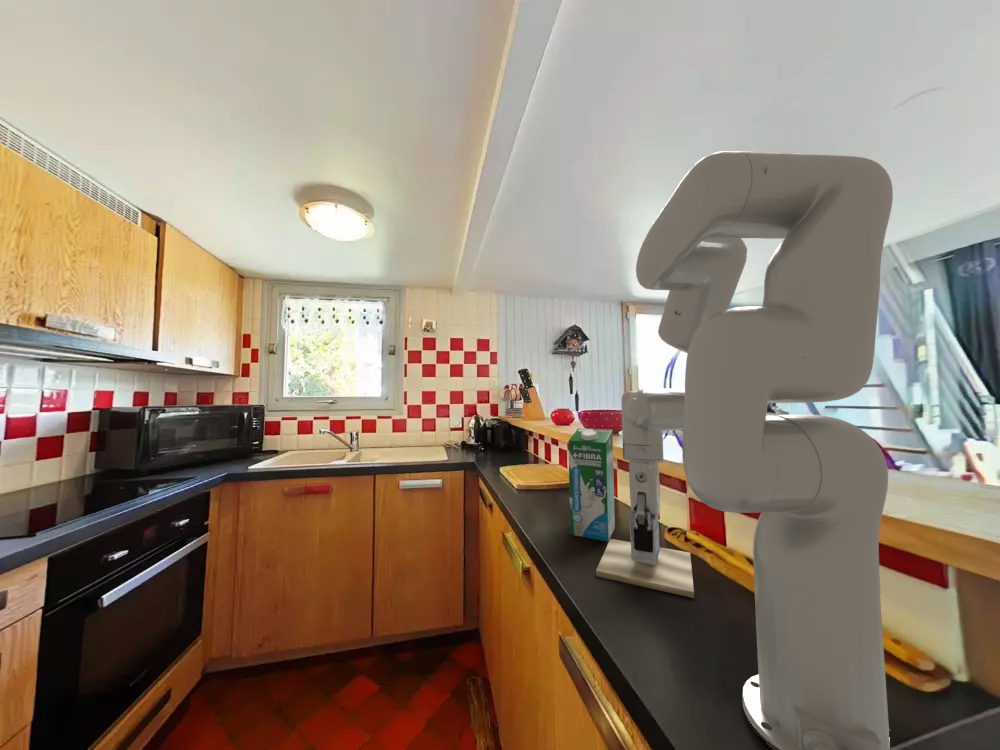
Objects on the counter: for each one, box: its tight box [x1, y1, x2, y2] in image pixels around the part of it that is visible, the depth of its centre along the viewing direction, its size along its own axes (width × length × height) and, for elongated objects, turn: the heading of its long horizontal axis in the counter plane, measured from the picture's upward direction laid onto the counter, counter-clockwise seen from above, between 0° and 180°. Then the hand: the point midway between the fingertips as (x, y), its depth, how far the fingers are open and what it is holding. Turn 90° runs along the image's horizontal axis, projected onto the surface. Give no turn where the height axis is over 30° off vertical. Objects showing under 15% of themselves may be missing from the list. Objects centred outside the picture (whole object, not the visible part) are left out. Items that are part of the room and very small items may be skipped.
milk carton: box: [568, 428, 616, 543], centre depth 86 cm, size 9×9×25 cm
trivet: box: [595, 538, 695, 599], centre depth 68 cm, size 16×16×1 cm
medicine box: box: [629, 510, 660, 566], centre depth 68 cm, size 8×4×9 cm, turn 151°
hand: (645, 541), depth 68 cm, fingers closed on medicine box, 8 cm apart
